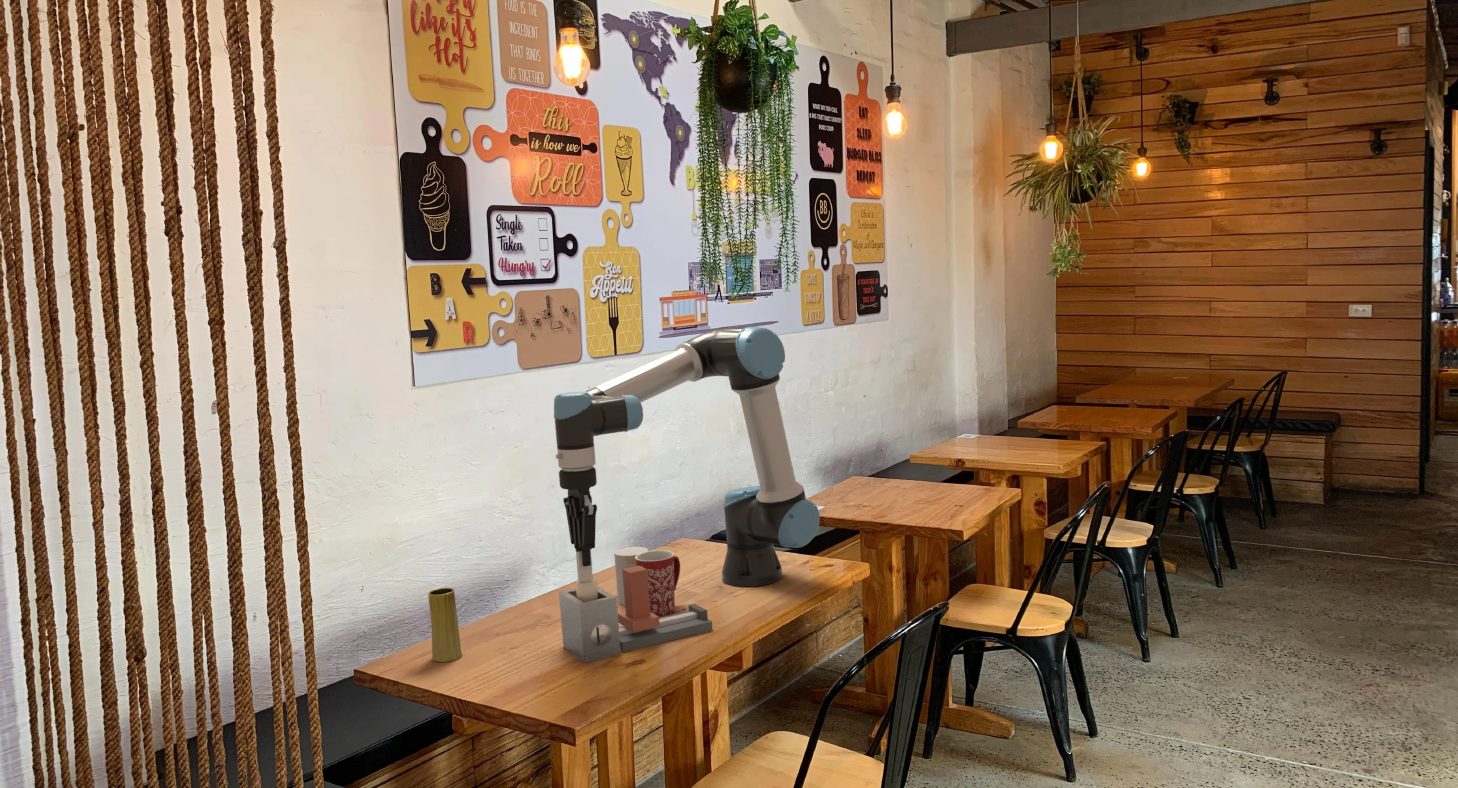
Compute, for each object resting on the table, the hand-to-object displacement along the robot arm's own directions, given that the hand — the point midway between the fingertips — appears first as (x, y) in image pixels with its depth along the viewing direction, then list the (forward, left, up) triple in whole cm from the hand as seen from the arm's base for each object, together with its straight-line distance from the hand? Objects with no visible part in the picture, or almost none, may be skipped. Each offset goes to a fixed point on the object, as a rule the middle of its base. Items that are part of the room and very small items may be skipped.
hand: (585, 580), depth 221 cm
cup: (-22, -27, -15) cm, 38 cm away
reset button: (0, 0, -5) cm, 5 cm away
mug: (-24, -15, -15) cm, 32 cm away
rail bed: (-16, 0, -15) cm, 22 cm away
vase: (+26, -16, -15) cm, 34 cm away
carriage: (-11, 0, -12) cm, 16 cm away
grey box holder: (0, 0, -15) cm, 15 cm away
